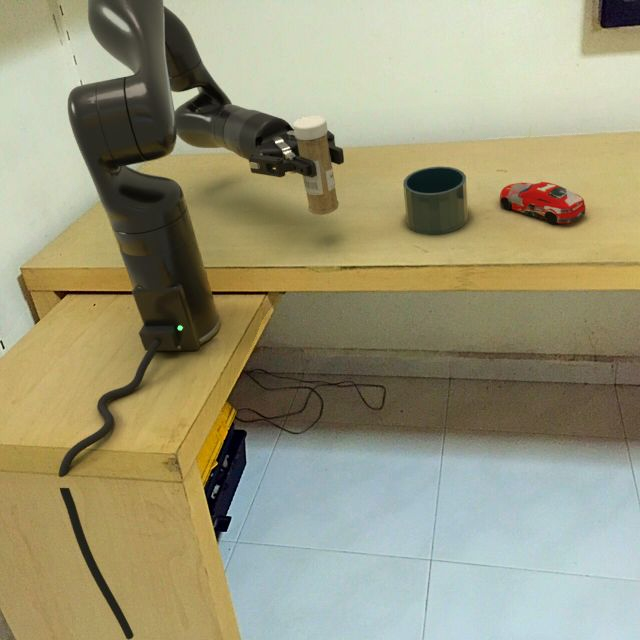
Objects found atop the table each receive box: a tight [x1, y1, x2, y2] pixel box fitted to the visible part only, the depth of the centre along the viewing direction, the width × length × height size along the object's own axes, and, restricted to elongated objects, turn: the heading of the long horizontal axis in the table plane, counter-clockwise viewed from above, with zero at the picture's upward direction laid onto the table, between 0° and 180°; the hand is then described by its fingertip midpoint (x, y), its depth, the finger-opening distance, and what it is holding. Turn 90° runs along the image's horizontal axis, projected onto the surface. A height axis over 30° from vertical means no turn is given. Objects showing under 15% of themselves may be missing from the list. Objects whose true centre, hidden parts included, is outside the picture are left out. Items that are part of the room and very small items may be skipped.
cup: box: [402, 166, 469, 236], centre depth 111 cm, size 9×9×6 cm
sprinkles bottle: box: [292, 115, 339, 216], centre depth 106 cm, size 5×5×14 cm
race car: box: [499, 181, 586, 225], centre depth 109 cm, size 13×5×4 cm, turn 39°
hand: (327, 163), depth 103 cm, fingers closed on sprinkles bottle, 4 cm apart
